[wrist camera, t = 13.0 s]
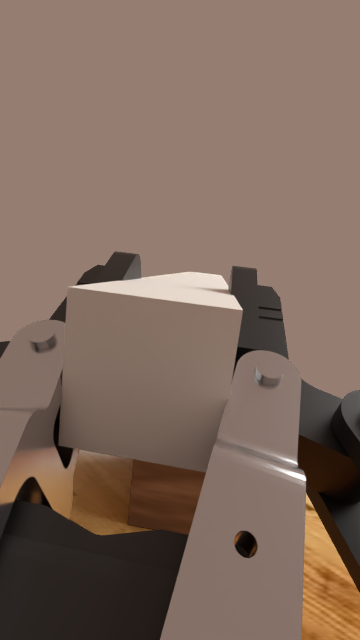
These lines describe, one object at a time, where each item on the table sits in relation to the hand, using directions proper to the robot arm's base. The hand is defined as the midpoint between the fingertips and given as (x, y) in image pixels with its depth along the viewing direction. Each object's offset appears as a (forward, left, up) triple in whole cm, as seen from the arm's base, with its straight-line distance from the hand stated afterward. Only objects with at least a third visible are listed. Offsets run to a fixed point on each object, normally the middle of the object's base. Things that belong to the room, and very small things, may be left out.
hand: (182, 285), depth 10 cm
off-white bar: (-3, +7, -3) cm, 9 cm away
